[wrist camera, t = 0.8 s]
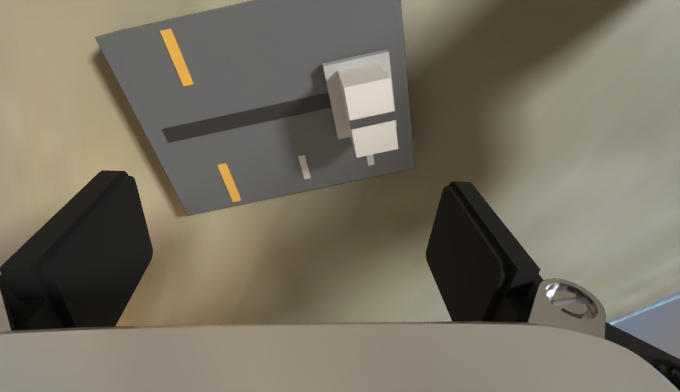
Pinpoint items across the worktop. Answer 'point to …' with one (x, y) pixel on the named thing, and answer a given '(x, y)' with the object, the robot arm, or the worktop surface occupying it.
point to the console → (256, 96)
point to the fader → (363, 101)
